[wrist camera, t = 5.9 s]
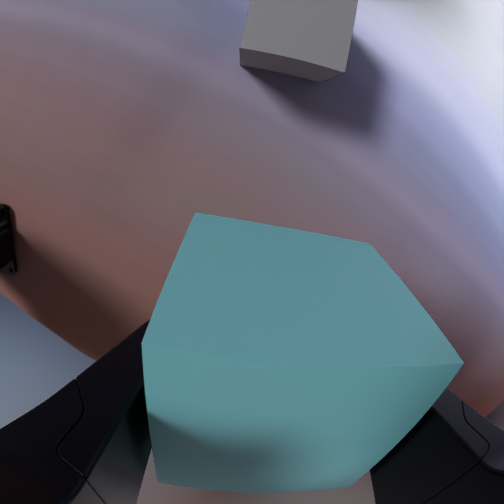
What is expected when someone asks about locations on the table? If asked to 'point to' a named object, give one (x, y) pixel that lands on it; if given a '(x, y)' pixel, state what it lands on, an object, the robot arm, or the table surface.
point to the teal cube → (284, 360)
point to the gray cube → (298, 37)
